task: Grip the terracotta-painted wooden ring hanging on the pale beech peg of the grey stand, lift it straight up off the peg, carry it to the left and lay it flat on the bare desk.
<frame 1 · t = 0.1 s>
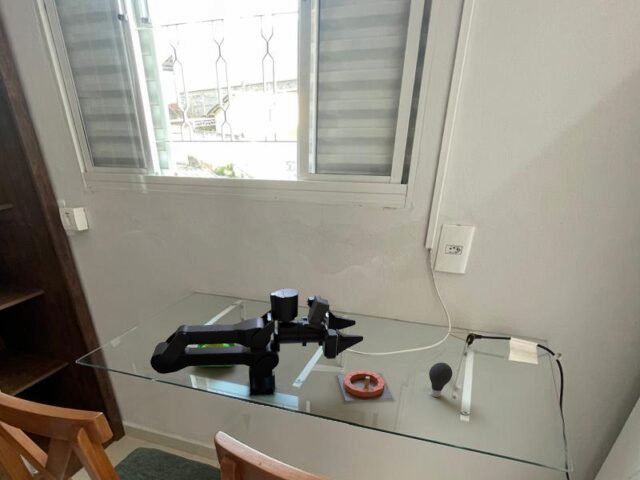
hand: (359, 330, 105), 17 cm above the table, tool horizontal, fingers open, 9 cm apart
peg stand: (363, 388, 113), on the table
fruit basket: (217, 364, 124), on the table
ring: (363, 385, 113), point 1 cm above the table, touching peg stand
light bulb: (434, 397, 110), on the table
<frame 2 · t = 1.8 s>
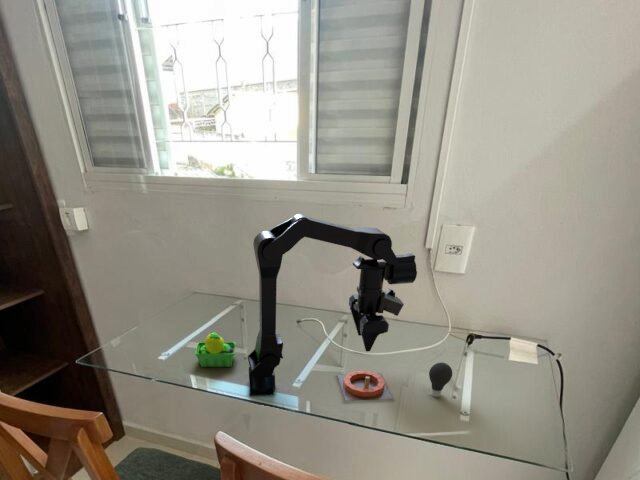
hand: (363, 342, 111), 11 cm above the table, tool pointing down, fingers open, 9 cm apart
nothing on the table moved.
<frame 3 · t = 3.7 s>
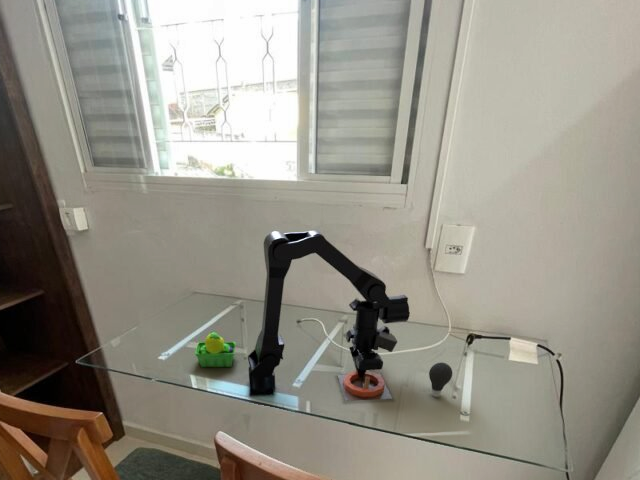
hand: (360, 375, 117), 1 cm above the table, tool pointing down, fingers closed on ring, 2 cm apart
ring: (363, 385, 113), point 1 cm above the table, touching gripper, peg stand
everything else where it was.
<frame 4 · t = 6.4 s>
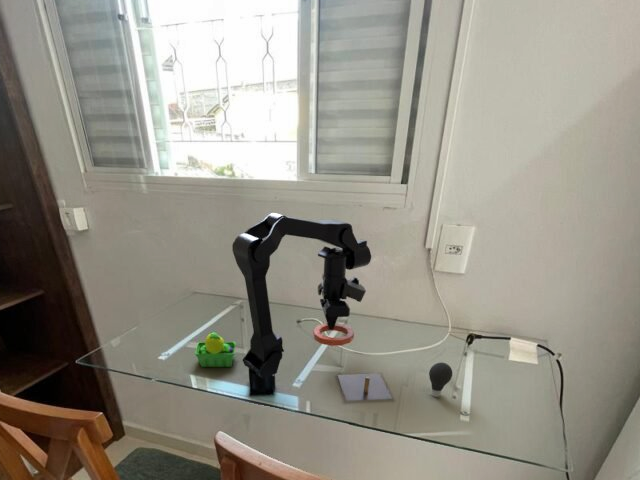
hand: (330, 328, 118), 11 cm above the table, tool pointing down, fingers closed on ring
ring: (333, 336, 114), point 11 cm above the table, touching gripper
everything else where it was.
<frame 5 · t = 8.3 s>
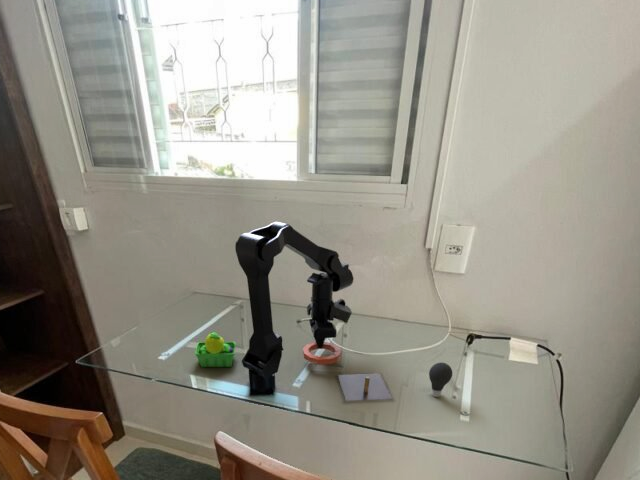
hand: (319, 346, 124), 4 cm above the table, tool pointing down, fingers closed on ring
ring: (321, 355, 121), point 4 cm above the table, touching gripper
everything else where it was.
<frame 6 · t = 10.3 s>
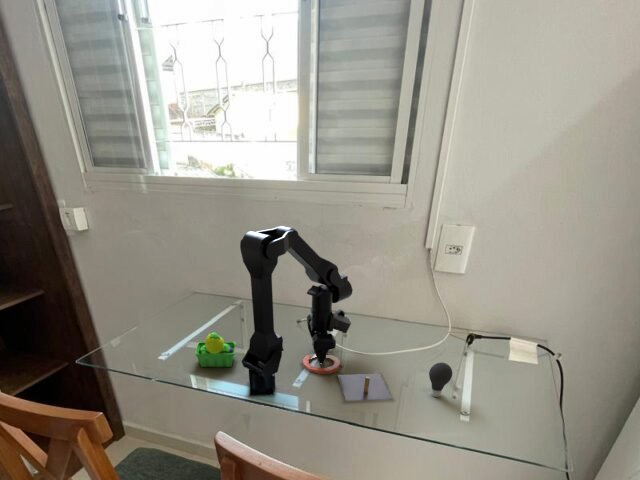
hand: (319, 356, 126), 1 cm above the table, tool pointing down, fingers open, 9 cm apart
ring: (321, 366, 123), on the table
everything else where it was.
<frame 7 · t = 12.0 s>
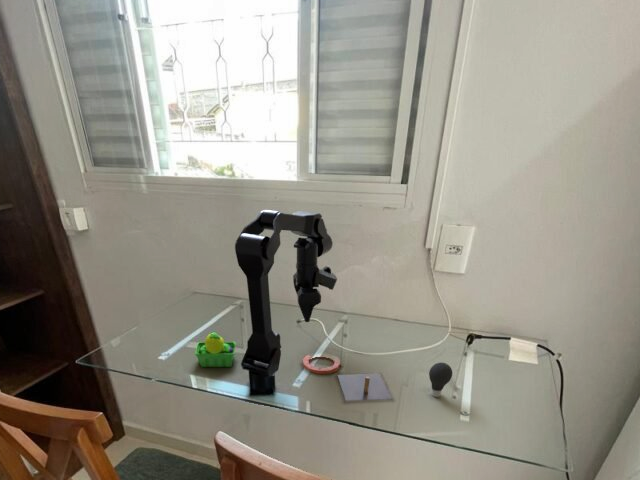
hand: (305, 315, 123), 12 cm above the table, tool pointing down, fingers open, 9 cm apart
nothing on the table moved.
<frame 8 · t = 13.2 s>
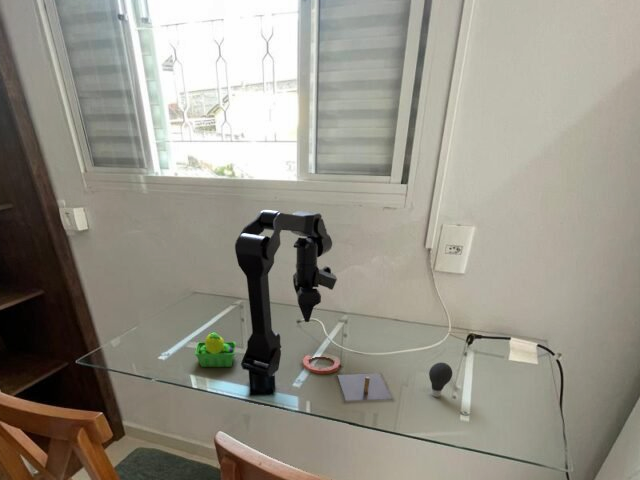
hand: (305, 315, 123), 12 cm above the table, tool pointing down, fingers open, 9 cm apart
nothing on the table moved.
at the end: ring inside the target area (0.1 cm from its centre), on the table; ring tilted 0°; the gripper is holding nothing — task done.
